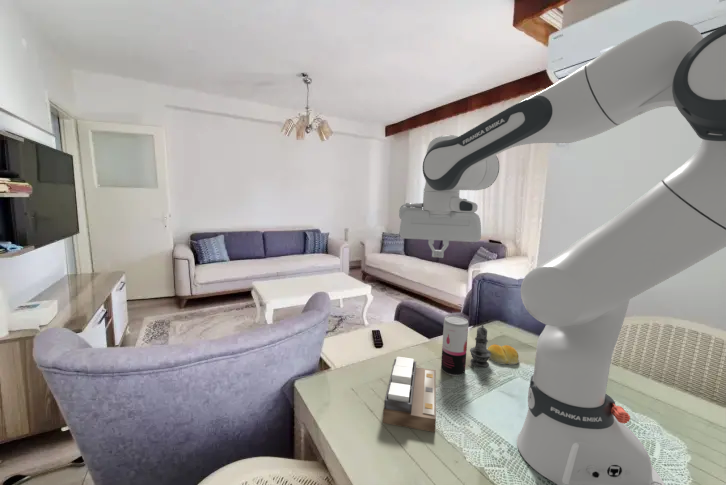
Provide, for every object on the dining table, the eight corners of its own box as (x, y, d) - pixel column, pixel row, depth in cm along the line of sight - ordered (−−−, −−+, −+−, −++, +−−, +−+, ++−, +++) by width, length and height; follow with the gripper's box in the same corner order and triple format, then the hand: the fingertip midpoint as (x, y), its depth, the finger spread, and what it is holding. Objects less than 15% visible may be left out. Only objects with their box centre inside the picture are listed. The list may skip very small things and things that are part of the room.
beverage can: (470, 373, 87) (473, 322, 84) (451, 378, 84) (454, 326, 82) (454, 362, 93) (457, 314, 90) (436, 366, 90) (439, 317, 88)
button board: (434, 380, 83) (435, 363, 82) (435, 432, 65) (436, 410, 64) (393, 374, 85) (394, 357, 85) (382, 422, 67) (383, 401, 66)
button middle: (411, 377, 77) (412, 367, 76) (410, 387, 72) (410, 377, 72) (394, 374, 78) (394, 365, 77) (391, 384, 73) (392, 374, 73)
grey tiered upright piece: (486, 358, 95) (490, 321, 93) (492, 369, 89) (496, 329, 87) (467, 357, 95) (469, 320, 94) (471, 367, 90) (474, 328, 88)
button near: (409, 395, 71) (410, 385, 71) (408, 407, 67) (408, 397, 66) (390, 392, 72) (391, 382, 72) (387, 404, 68) (388, 393, 67)
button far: (413, 367, 83) (413, 358, 82) (412, 376, 78) (412, 367, 78) (396, 365, 84) (397, 356, 83) (394, 374, 79) (395, 365, 79)
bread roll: (484, 350, 100) (485, 339, 100) (514, 354, 99) (515, 342, 98) (489, 363, 92) (490, 351, 92) (521, 367, 91) (523, 355, 90)
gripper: (398, 202, 78) (396, 256, 80) (484, 205, 74) (480, 262, 76) (400, 202, 84) (399, 252, 86) (480, 204, 80) (476, 257, 82)
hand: (437, 257), depth 81 cm, fingers closed
